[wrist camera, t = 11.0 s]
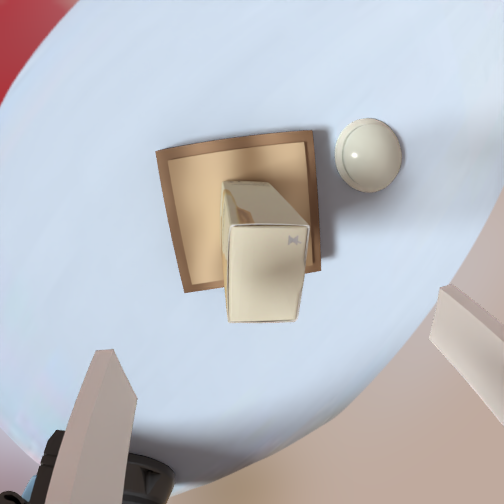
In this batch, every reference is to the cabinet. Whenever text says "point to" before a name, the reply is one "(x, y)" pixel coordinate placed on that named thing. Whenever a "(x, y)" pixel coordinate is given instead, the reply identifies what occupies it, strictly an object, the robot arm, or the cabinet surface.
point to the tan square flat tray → (209, 194)
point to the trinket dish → (368, 155)
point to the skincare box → (261, 253)
